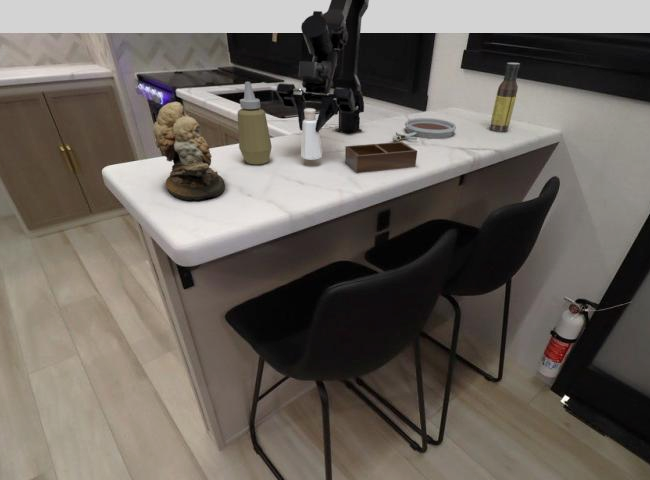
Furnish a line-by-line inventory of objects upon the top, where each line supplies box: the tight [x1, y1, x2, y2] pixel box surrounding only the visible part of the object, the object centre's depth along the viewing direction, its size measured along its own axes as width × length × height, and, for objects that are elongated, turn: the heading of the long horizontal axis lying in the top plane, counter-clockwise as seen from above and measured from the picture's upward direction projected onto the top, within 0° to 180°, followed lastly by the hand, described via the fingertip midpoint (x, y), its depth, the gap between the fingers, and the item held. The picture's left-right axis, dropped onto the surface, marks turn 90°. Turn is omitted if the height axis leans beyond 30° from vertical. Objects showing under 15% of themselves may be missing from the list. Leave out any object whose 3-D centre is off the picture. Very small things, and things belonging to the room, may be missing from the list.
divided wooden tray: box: [344, 141, 418, 174], centre depth 98 cm, size 9×16×4 cm, turn 111°
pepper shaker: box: [300, 107, 323, 161], centre depth 92 cm, size 5×5×11 cm
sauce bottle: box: [489, 62, 521, 133], centre depth 125 cm, size 6×6×20 cm
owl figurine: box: [152, 101, 226, 201], centre depth 78 cm, size 18×12×17 cm, turn 34°
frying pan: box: [391, 117, 457, 142], centre depth 122 cm, size 17×3×28 cm
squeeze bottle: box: [237, 81, 272, 165], centre depth 92 cm, size 8×8×18 cm
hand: (308, 130), depth 91 cm, fingers closed on pepper shaker, 4 cm apart
